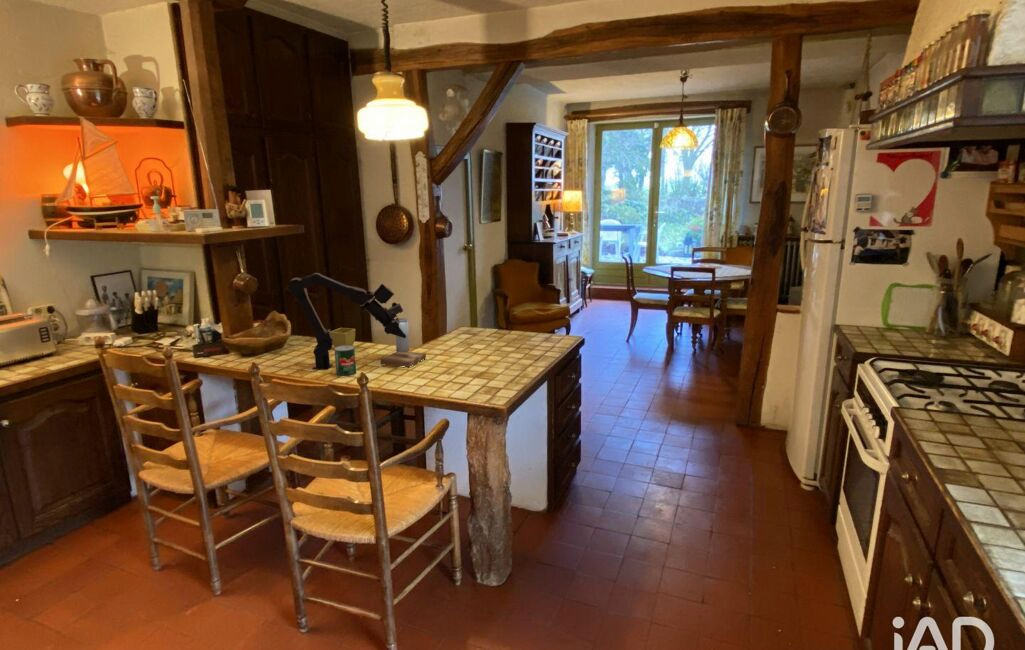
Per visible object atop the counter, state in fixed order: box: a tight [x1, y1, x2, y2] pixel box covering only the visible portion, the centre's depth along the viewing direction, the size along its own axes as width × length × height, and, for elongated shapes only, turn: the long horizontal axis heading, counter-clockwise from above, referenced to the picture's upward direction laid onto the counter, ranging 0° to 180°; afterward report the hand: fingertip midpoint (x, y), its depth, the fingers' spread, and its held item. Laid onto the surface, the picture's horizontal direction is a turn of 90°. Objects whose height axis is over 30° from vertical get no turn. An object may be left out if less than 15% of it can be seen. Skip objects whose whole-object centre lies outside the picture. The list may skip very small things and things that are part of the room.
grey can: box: [395, 317, 410, 352], centre depth 245 cm, size 6×6×14 cm
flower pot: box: [330, 327, 356, 348], centre depth 268 cm, size 9×9×9 cm
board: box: [380, 351, 427, 368], centre depth 247 cm, size 14×14×3 cm
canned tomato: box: [334, 345, 357, 377], centre depth 230 cm, size 8×8×11 cm
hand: (405, 335), depth 245 cm, fingers closed on grey can, 6 cm apart
